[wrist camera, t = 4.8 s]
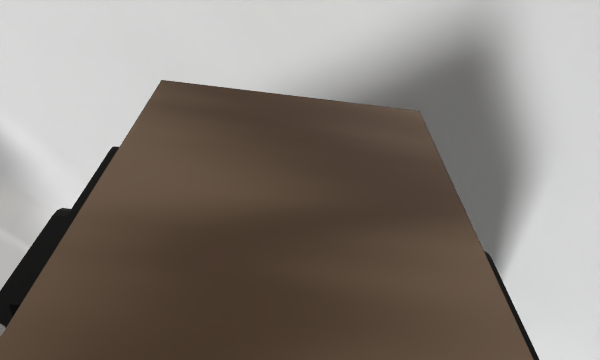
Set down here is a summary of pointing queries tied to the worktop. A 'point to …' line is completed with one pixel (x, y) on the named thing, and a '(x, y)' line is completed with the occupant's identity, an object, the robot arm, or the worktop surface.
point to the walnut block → (268, 242)
